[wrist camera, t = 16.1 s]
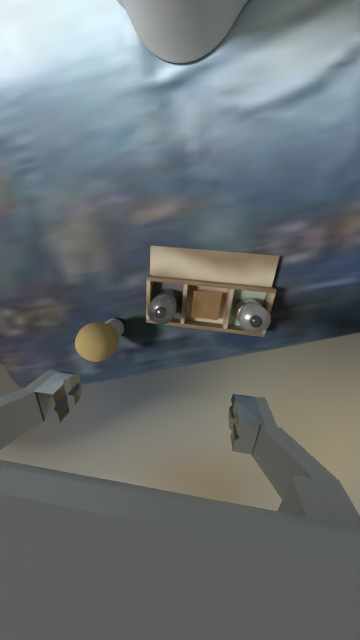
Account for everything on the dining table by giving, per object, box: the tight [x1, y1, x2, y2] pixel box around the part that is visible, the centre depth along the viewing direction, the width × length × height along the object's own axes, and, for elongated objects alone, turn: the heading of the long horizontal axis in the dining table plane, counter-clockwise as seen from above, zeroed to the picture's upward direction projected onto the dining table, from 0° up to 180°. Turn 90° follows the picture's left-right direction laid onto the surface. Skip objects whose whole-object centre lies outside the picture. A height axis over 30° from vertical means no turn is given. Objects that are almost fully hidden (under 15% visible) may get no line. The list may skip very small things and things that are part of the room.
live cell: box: [234, 297, 271, 334], centre depth 28 cm, size 4×4×7 cm
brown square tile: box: [191, 290, 222, 320], centre depth 31 cm, size 5×5×1 cm
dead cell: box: [147, 289, 179, 324], centre depth 29 cm, size 4×4×7 cm
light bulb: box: [75, 319, 124, 362], centre depth 32 cm, size 6×6×10 cm
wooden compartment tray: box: [146, 246, 279, 337], centre depth 30 cm, size 13×20×3 cm, turn 85°
